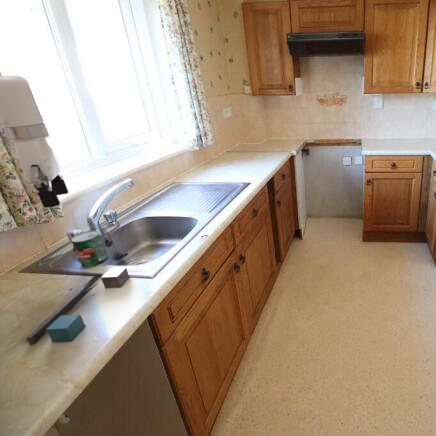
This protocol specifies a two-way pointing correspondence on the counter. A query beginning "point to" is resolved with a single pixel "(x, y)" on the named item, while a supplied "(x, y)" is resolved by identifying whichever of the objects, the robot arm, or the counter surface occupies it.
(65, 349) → the counter surface
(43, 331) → the rail
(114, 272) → the walnut block
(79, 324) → the teal block
